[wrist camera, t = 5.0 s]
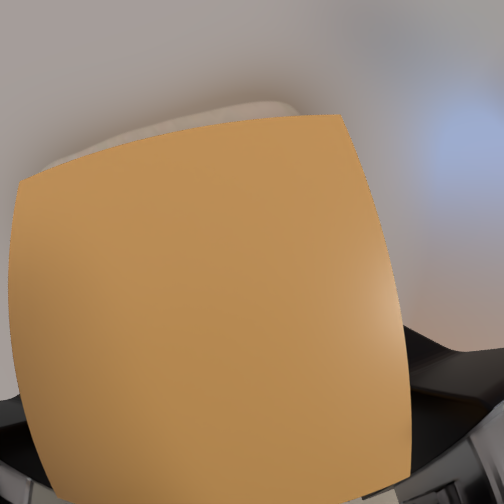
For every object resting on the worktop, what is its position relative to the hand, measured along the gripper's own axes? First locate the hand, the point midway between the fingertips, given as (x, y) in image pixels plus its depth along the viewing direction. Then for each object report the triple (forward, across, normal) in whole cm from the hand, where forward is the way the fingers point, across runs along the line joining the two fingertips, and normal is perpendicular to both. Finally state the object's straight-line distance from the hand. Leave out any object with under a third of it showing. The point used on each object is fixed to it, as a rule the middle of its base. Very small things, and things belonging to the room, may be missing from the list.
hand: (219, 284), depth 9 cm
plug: (+4, 0, +6) cm, 7 cm away
